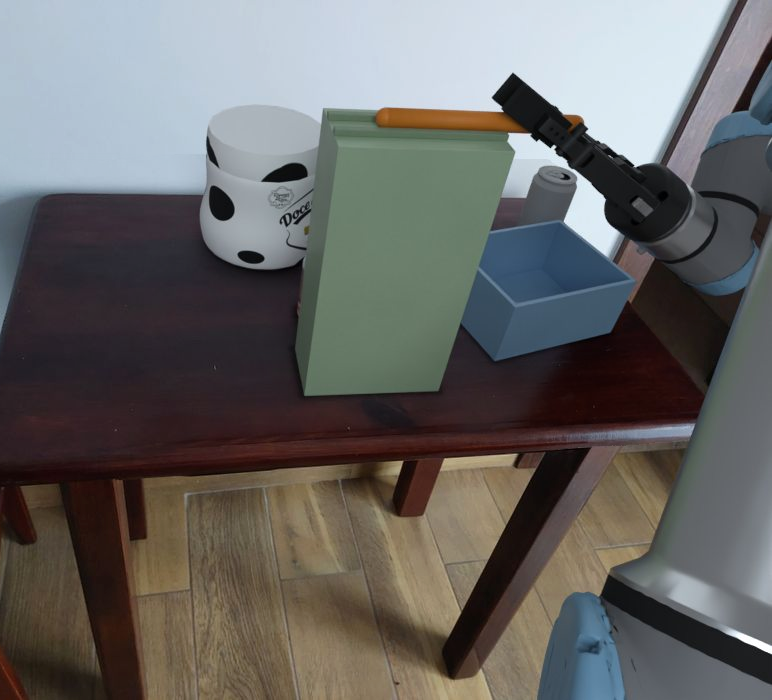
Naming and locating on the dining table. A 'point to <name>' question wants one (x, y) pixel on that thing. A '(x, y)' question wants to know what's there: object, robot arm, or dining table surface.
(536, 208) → the beverage can
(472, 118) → the orange round-ended rod
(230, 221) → the doce de leite jar
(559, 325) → the bin
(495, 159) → the stand
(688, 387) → the dining table surface
